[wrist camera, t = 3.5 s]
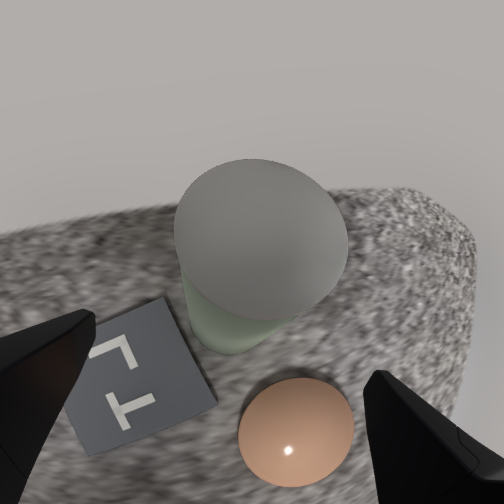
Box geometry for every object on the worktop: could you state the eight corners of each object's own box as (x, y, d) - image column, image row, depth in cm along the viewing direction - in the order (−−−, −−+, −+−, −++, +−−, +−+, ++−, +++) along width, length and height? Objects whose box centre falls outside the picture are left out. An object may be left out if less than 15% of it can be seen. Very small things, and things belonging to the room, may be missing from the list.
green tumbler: (211, 369, 18) (226, 352, 7) (175, 296, 20) (148, 189, 9) (283, 332, 20) (377, 266, 9) (245, 265, 21) (290, 145, 11)
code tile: (89, 455, 14) (87, 456, 13) (44, 349, 16) (41, 349, 16) (218, 404, 17) (218, 404, 17) (163, 297, 19) (163, 296, 19)
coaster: (274, 503, 14) (276, 505, 14) (215, 414, 17) (215, 415, 16) (367, 442, 17) (371, 443, 16) (317, 356, 19) (320, 355, 19)
